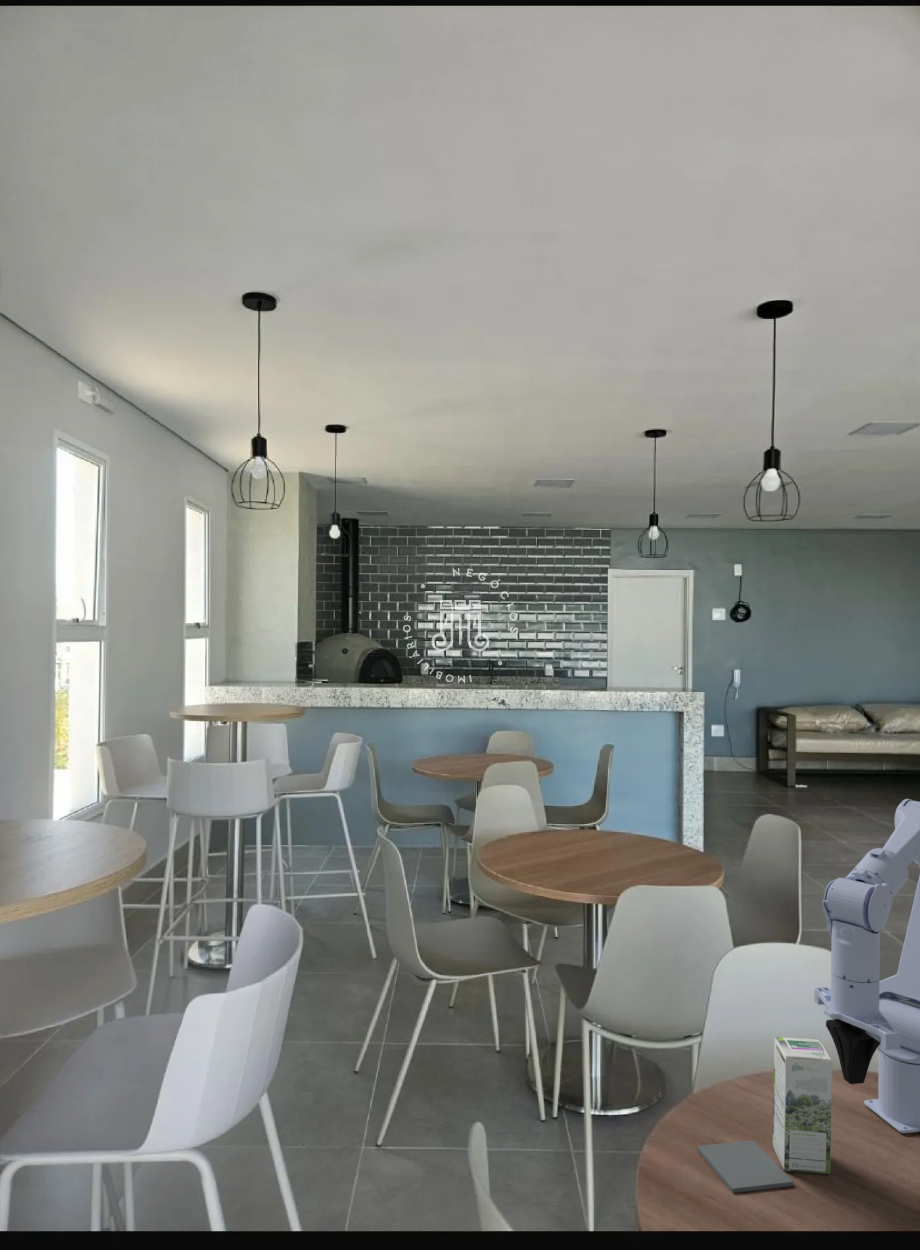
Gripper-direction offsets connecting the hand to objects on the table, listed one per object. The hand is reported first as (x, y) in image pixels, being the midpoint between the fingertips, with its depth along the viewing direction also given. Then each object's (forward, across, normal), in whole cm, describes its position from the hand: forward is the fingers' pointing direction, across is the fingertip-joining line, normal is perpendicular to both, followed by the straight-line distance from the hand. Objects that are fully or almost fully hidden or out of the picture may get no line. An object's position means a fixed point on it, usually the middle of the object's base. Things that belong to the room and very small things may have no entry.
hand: (854, 1080), depth 112 cm
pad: (+9, 0, -16) cm, 18 cm away
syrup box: (+10, 0, -8) cm, 12 cm away
